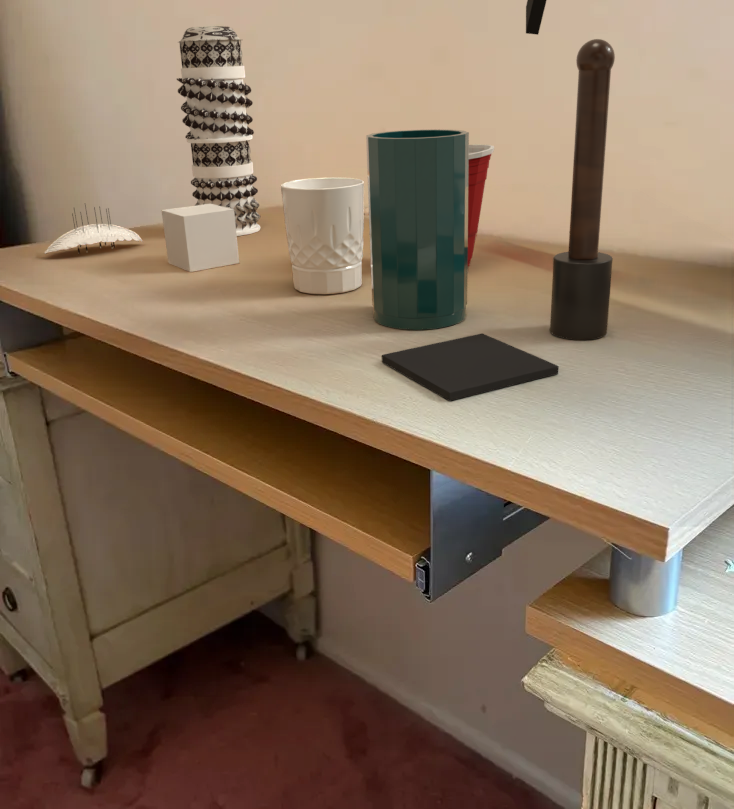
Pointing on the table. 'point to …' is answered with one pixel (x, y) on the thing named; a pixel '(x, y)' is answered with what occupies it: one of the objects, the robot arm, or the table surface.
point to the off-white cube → (200, 237)
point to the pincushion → (92, 236)
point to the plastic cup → (476, 189)
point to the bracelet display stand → (219, 122)
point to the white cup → (325, 233)
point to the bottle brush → (586, 208)
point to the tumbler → (418, 227)
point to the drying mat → (468, 366)
